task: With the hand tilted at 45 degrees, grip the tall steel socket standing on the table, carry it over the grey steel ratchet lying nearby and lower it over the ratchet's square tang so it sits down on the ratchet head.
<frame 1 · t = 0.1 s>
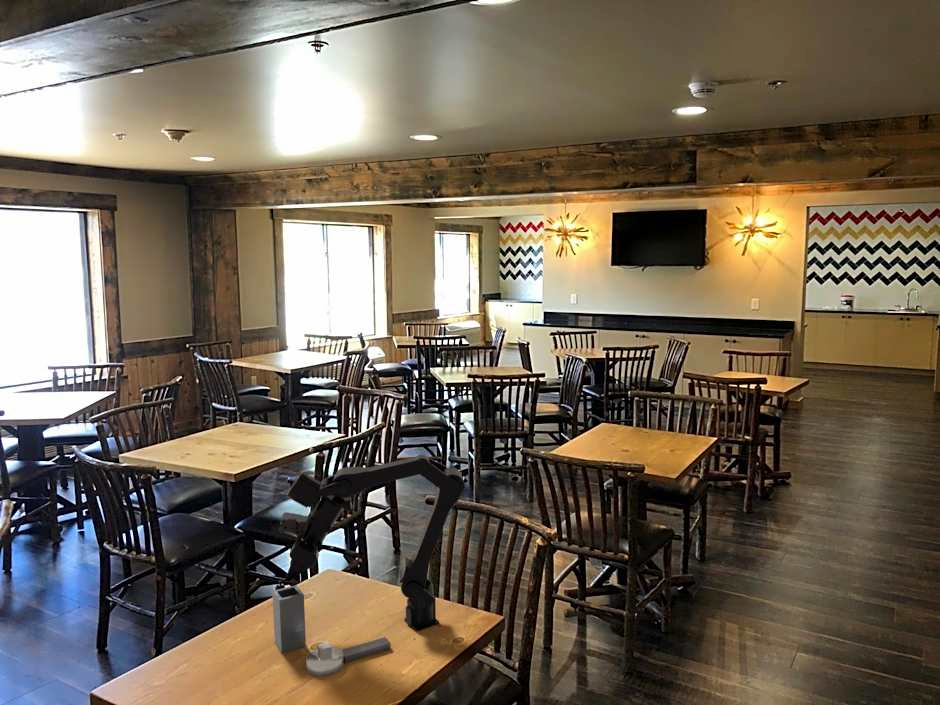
hand: (289, 571, 168), 15 cm above the table, tool tilted 35°, fingers open, 9 cm apart
socket: (290, 644, 164), on the table
ratchet: (325, 665, 155), on the table
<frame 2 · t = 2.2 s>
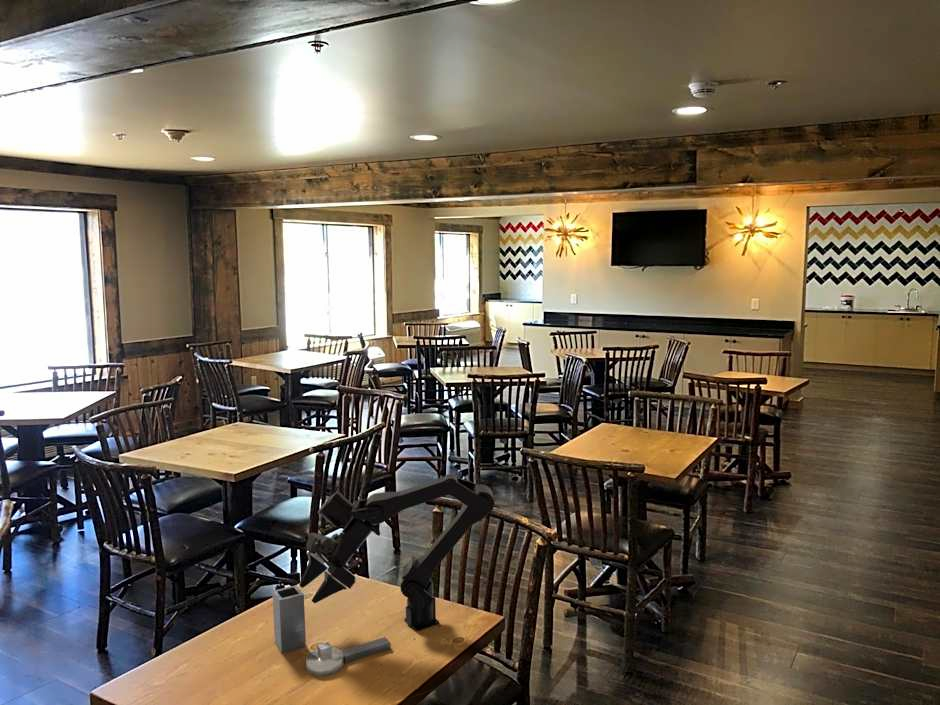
hand: (306, 594, 165), 11 cm above the table, tool tilted 45°, fingers open, 9 cm apart
nothing on the table moved.
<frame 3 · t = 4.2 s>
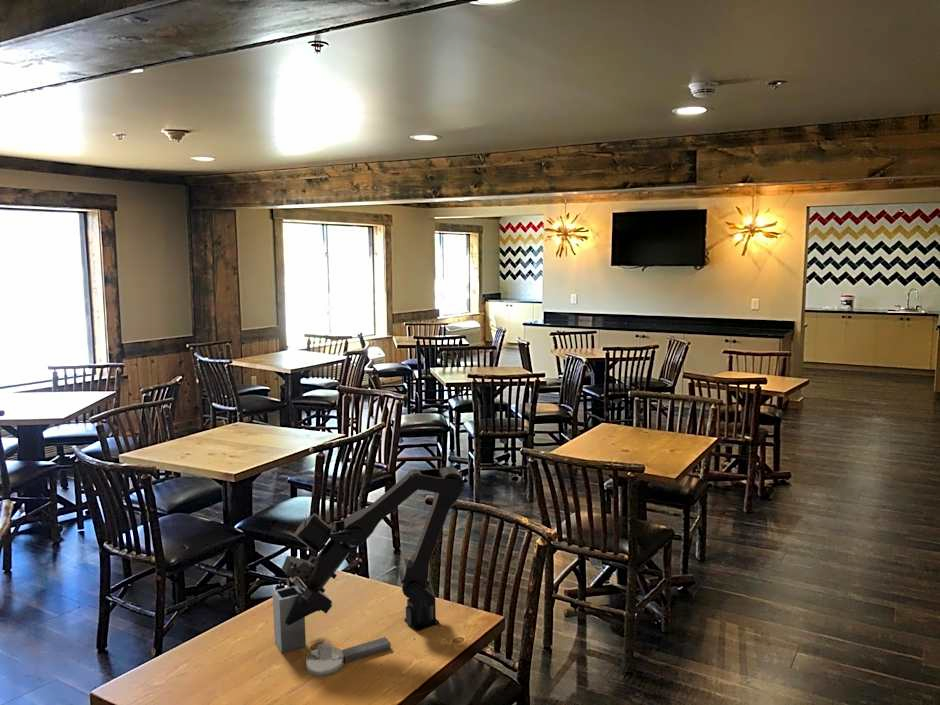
hand: (283, 618, 162), 7 cm above the table, tool tilted 45°, fingers closed on socket, 6 cm apart
socket: (290, 644, 164), on the table, touching gripper
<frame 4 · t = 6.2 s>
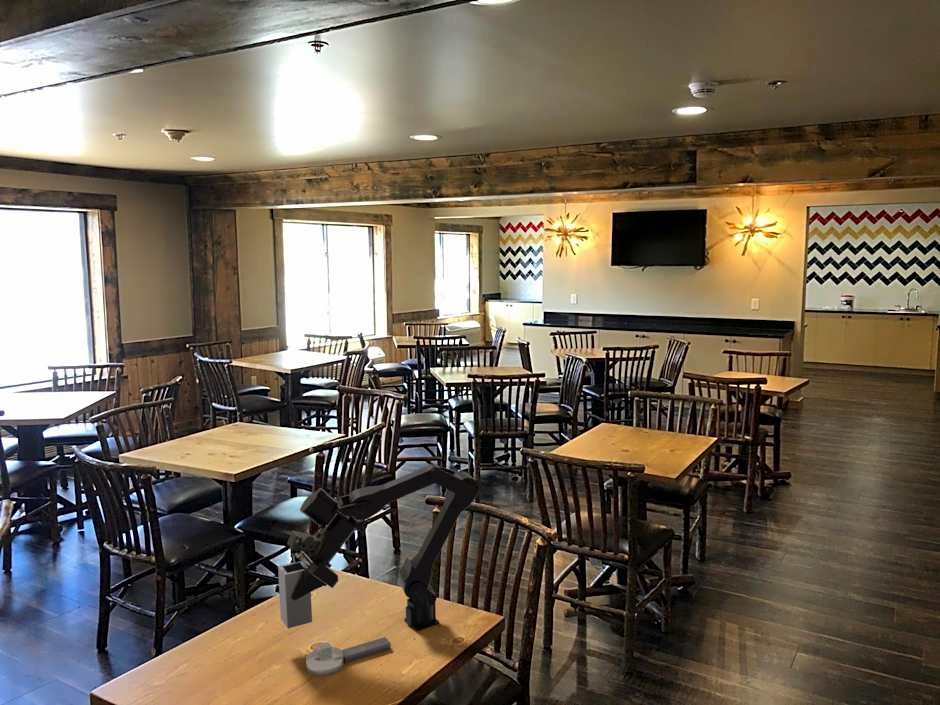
hand: (289, 594, 160), 13 cm above the table, tool tilted 45°, fingers closed on socket, 6 cm apart
socket: (296, 620, 161), point 7 cm above the table, touching gripper
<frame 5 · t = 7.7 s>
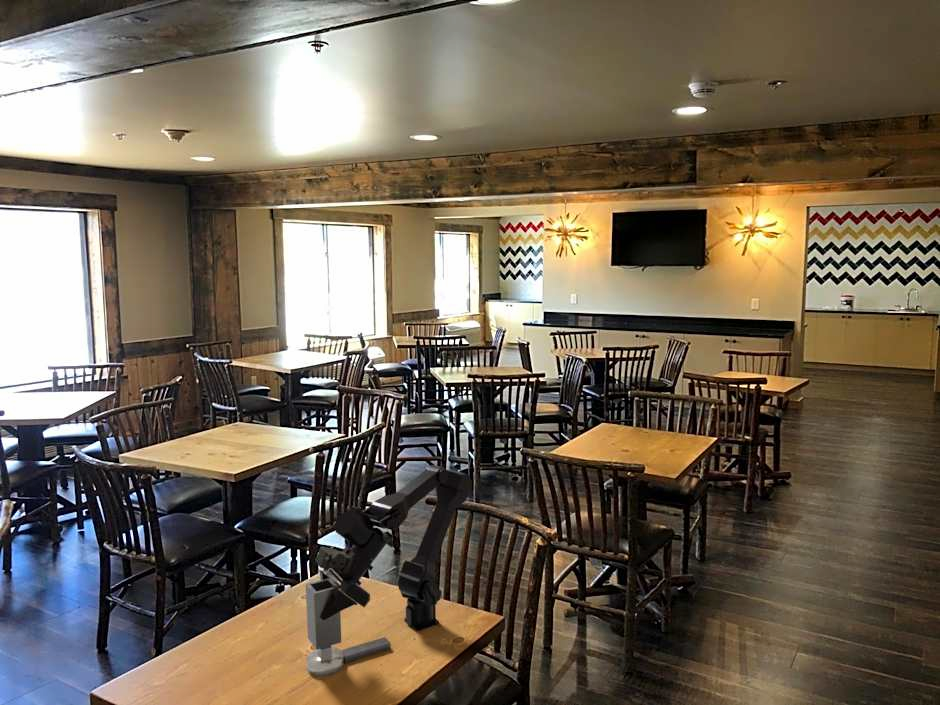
hand: (317, 613, 153), 12 cm above the table, tool tilted 45°, fingers closed on socket, 6 cm apart
socket: (324, 640, 154), point 6 cm above the table, touching gripper
when the fingers open (9 cm above the table, at t = 8.7 s): socket stays where it is, resting on ratchet.
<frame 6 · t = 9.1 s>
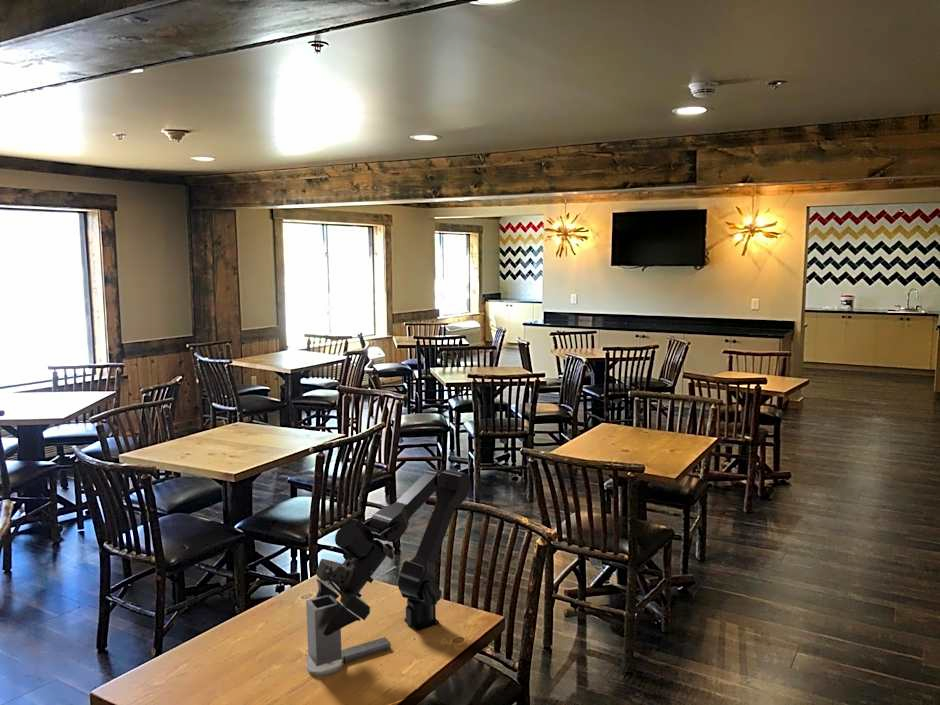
hand: (317, 625, 153), 10 cm above the table, tool tilted 45°, fingers open, 9 cm apart
socket: (324, 656, 154), point 2 cm above the table, touching ratchet
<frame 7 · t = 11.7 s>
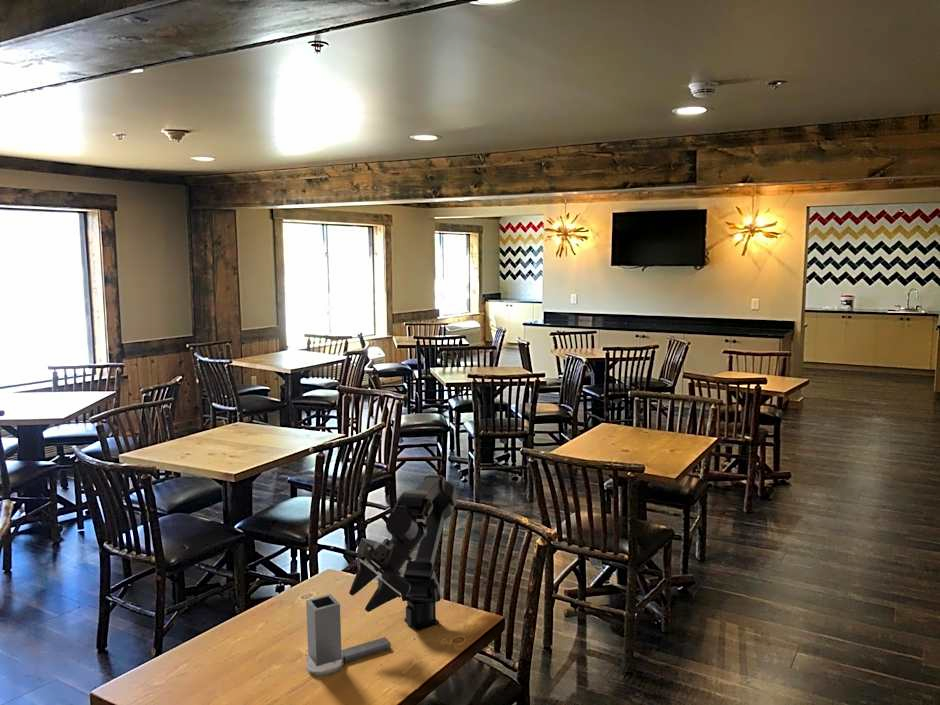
hand: (358, 602, 157), 12 cm above the table, tool tilted 45°, fingers open, 9 cm apart
nothing on the table moved.
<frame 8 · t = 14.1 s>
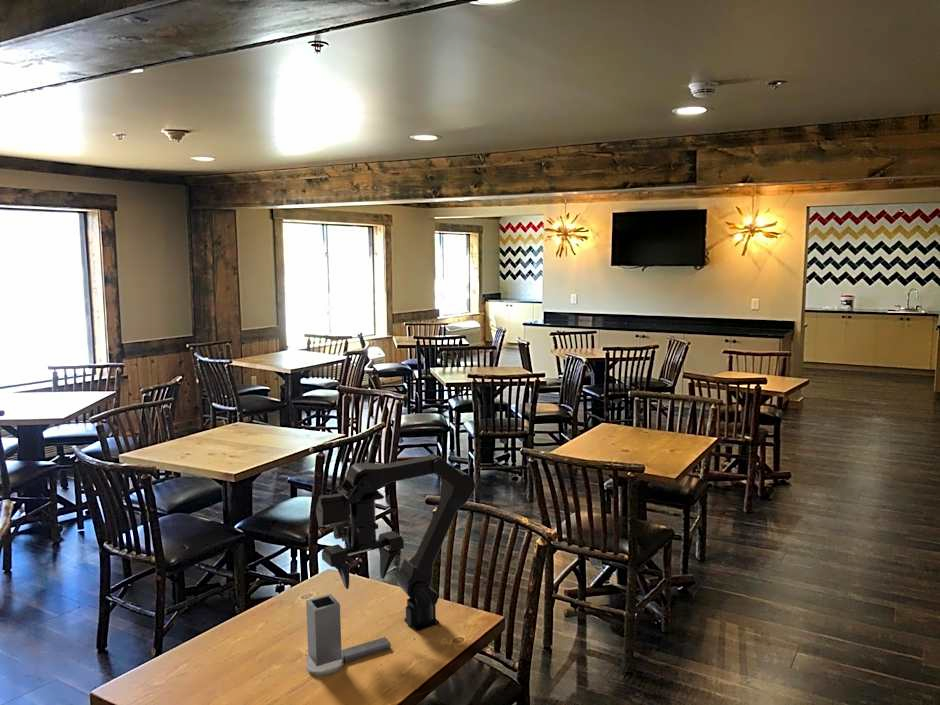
hand: (364, 583, 165), 13 cm above the table, tool pointing down, fingers open, 9 cm apart
nothing on the table moved.
at the end: socket 0.0 cm from the ratchet (horizontally); socket point 2.0 cm above the table; socket tilted 0° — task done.
